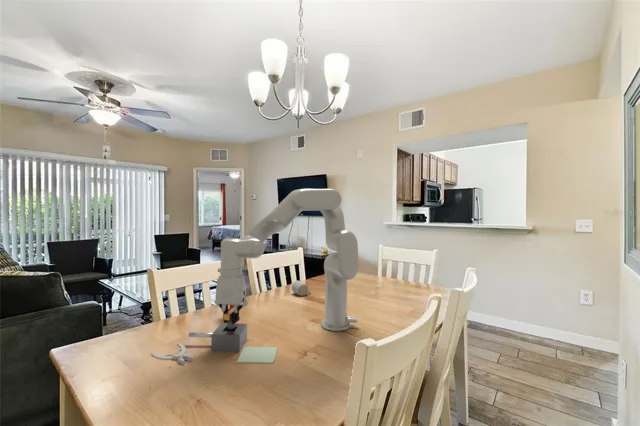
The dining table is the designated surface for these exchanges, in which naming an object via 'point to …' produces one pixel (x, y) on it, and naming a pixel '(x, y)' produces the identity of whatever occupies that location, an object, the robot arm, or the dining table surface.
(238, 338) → the block
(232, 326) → the chuck key
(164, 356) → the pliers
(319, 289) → the dining table surface
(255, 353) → the mat
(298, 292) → the ceramic mug
